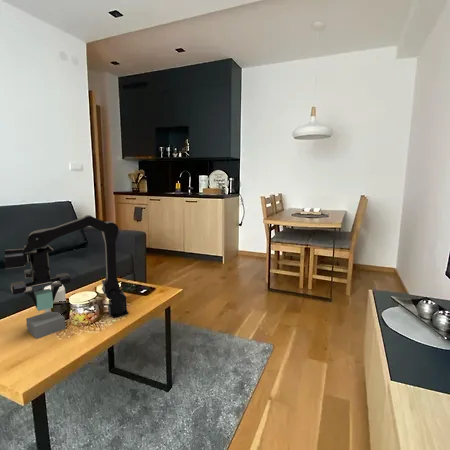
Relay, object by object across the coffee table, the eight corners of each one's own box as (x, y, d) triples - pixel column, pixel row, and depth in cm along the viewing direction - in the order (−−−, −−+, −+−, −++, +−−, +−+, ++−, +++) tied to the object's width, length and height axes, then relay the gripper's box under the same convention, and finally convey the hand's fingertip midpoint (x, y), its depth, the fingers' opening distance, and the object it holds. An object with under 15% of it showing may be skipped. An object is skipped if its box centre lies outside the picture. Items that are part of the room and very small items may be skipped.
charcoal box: (55, 321, 121) (54, 309, 120) (65, 329, 114) (64, 317, 114) (27, 330, 113) (26, 318, 112) (36, 339, 107) (35, 326, 106)
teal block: (50, 303, 116) (49, 288, 115) (53, 307, 112) (52, 292, 111) (35, 307, 113) (34, 291, 112) (38, 311, 109) (36, 295, 108)
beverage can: (70, 309, 131) (68, 283, 129) (58, 318, 123) (56, 290, 121) (53, 309, 132) (51, 283, 130) (40, 317, 124) (37, 290, 122)
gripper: (62, 256, 122) (65, 292, 124) (6, 265, 110) (11, 304, 112) (69, 261, 114) (73, 300, 116) (10, 271, 102) (15, 314, 104)
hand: (44, 304), depth 112 cm, fingers closed on teal block, 5 cm apart
